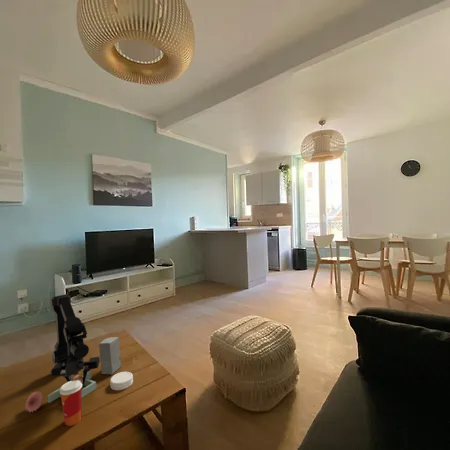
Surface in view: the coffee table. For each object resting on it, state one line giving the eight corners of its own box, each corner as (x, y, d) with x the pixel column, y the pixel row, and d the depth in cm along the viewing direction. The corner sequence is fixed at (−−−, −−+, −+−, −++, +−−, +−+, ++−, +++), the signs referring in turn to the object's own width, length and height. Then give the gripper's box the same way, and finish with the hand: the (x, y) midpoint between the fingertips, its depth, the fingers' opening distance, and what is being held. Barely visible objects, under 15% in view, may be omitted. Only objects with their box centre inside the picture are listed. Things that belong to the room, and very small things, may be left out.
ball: (72, 384, 126) (72, 374, 126) (84, 382, 127) (84, 371, 127) (69, 391, 121) (69, 380, 121) (82, 388, 122) (81, 377, 122)
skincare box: (112, 375, 137) (110, 343, 136) (99, 374, 138) (97, 343, 138) (122, 366, 145) (120, 336, 145) (109, 365, 146) (108, 335, 146)
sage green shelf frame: (47, 402, 118) (47, 395, 118) (90, 377, 136) (89, 371, 136) (63, 409, 113) (62, 402, 113) (105, 383, 130) (104, 376, 130)
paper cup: (67, 414, 110) (65, 380, 109) (87, 412, 110) (85, 378, 110) (57, 429, 102) (55, 392, 102) (78, 427, 103) (76, 390, 102)
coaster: (137, 380, 131) (137, 373, 131) (121, 393, 122) (121, 385, 122) (122, 376, 136) (121, 369, 136) (105, 388, 127) (105, 380, 127)
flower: (41, 386, 120) (32, 386, 115) (52, 398, 117) (43, 398, 112) (27, 405, 117) (16, 405, 112) (37, 417, 114) (27, 418, 109)
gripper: (45, 363, 113) (47, 400, 114) (94, 355, 119) (96, 390, 119) (54, 351, 124) (56, 385, 125) (98, 343, 129) (100, 376, 130)
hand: (77, 384), depth 124 cm, fingers closed on ball, 5 cm apart
